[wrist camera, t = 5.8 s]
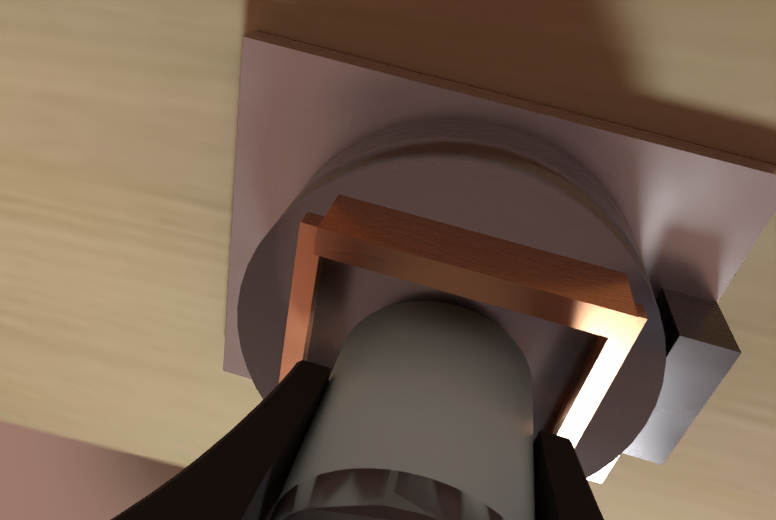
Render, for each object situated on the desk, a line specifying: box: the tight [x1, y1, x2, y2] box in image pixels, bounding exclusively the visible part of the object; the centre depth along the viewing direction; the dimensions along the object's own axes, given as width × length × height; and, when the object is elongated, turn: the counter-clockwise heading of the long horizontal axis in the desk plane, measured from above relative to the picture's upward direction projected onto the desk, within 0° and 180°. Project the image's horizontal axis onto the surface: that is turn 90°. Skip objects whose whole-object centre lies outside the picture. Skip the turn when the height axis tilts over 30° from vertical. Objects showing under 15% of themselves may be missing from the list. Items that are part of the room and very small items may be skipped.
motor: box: [223, 31, 776, 484], centre depth 15 cm, size 13×11×5 cm
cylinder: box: [270, 301, 535, 520], centre depth 11 cm, size 4×4×5 cm
